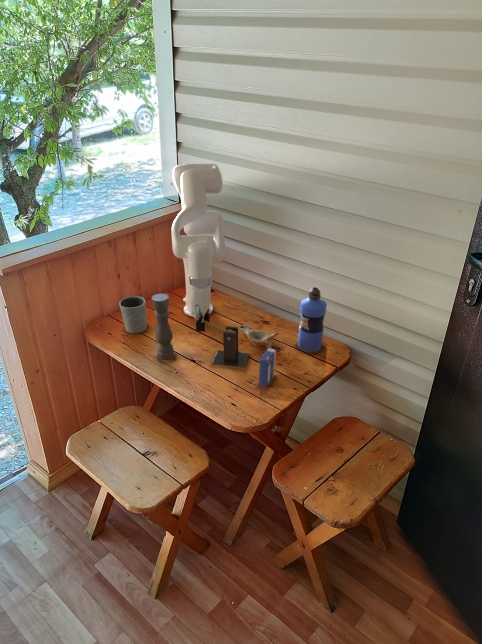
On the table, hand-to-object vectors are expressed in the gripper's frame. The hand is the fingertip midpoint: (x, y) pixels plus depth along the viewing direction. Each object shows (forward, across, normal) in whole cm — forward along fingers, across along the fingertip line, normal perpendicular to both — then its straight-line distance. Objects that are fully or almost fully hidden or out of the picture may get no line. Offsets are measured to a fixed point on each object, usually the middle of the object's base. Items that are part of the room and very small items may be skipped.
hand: (202, 326), depth 169 cm
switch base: (+13, 0, +10) cm, 17 cm away
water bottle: (+14, -15, +38) cm, 43 cm away
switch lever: (+1, 0, +5) cm, 5 cm away
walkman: (+14, +10, +25) cm, 30 cm away
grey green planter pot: (+14, -15, -33) cm, 39 cm away
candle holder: (+14, +3, -14) cm, 20 cm away
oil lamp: (+14, -14, +18) cm, 27 cm away
